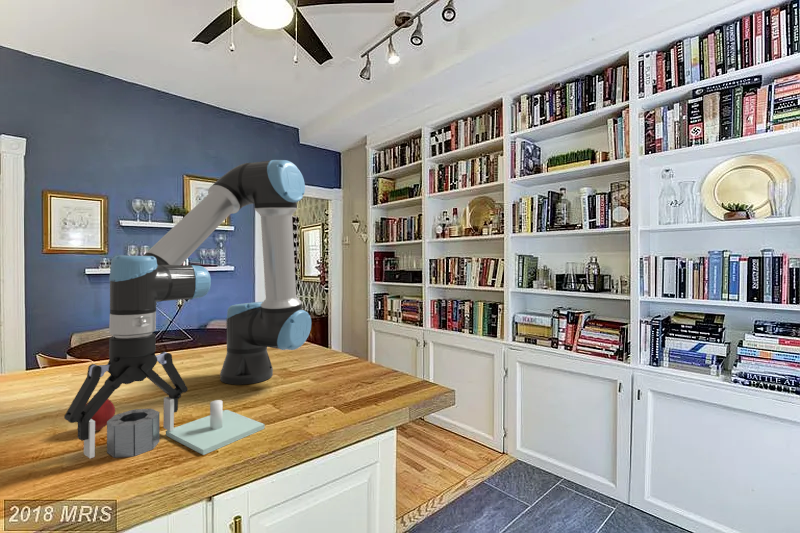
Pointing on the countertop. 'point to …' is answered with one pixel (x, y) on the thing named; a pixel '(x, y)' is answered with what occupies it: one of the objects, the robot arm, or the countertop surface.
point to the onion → (103, 415)
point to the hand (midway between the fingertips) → (131, 442)
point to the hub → (132, 432)
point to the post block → (214, 429)
